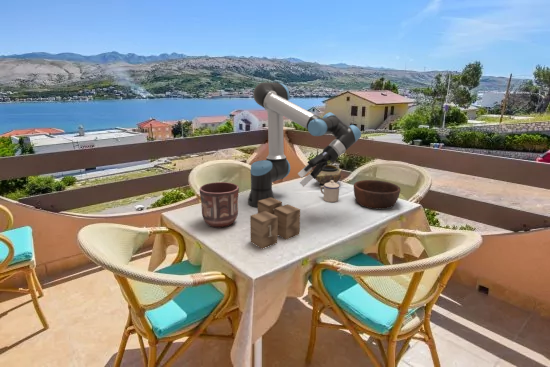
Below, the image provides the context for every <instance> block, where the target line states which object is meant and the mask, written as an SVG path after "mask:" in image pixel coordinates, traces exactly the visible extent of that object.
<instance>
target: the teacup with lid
mask: <svg viewBox="0 0 550 367" xmlns="http://www.w3.org/2000/svg"><path fill="white" fill-rule="evenodd" d="M340 187H341V186H340V184H339V183H338V182H336V183H335V182H334V181H333V180H331V181H330V182H328V183H325V184H324V186H320V189H319V190H320V193H321V194H323V197H322V198H323V201H325V202H327V203H336V202H338V201H339V197H340Z"/></svg>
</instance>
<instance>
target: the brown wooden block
mask: <svg viewBox="0 0 550 367" xmlns="http://www.w3.org/2000/svg"><path fill="white" fill-rule="evenodd" d="M274 215H275V216H277V217H278V233H277V236H278V235H279V237H280V236H281V238H282V237H283V238H282V239H284V240H286V239H287V240H289V239H291V238H294V237H296V236H299V235H300V233H301V232H300V228H301V209H300V208H298V207H295V206H294V205H291V204H284V205H282V206H281V207H277V208H274Z"/></svg>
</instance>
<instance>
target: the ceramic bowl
mask: <svg viewBox="0 0 550 367" xmlns="http://www.w3.org/2000/svg"><path fill="white" fill-rule="evenodd" d="M342 171H343V170H342V169H341V168H339V167H338V166H336V165H333V164H328V165H327V166H325V167H324V169H323V170H322V171H321V172H320V173H319V174H318V175H317V176H316V178H315V179H314V180H315V181H316V182H318V184H319V186H320V187H321V186H324V184H325V183H328V182H330V181H331V180H333V181H334V182H335V183H338V182H339V181H340V180H341V176H342V175H341V173H342Z"/></svg>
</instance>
